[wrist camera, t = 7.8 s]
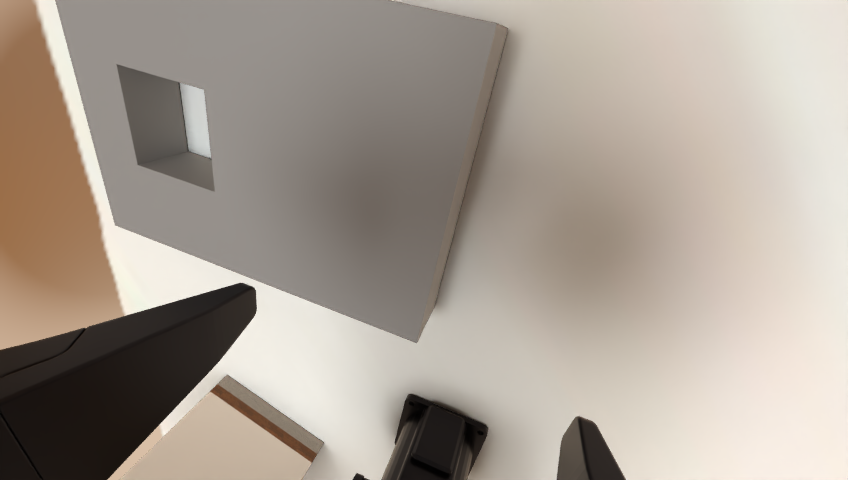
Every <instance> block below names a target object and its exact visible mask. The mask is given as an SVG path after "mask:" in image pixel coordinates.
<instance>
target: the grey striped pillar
mask: <svg viewBox="0 0 848 480" xmlns="http://www.w3.org/2000/svg"><path fill="white" fill-rule="evenodd" d="M323 444H324V442H322V441H321V440H319V439H318V438H316V437H315V436H314V435H312V434H311V433H309V432H308V431H306V430H305V429H304V428H302V427H301V426H299V425H298V424H296V423H295V422H294V421H292V420H291V419H289V418H288V417H287V416H285V415H284V414H282V413H281V412H279V411H278V410H277V409H275V408H274V407H272V406H271V405H269V404H268V403H267V402H265V401H264V400H262V399H261V398H259V397H258V396H257V395H255V394H254V393H252V392H251V391H249V390H248V389H247V388H245V387H244V386H242V385H241V384H239V383H238V382H237V381H235V380H234V379H232V378H231V377H230V376H228V375H226V376H225V377H224V378H223V379H222V380H221V381H220V382H219V383H218V384H217V385H216V386H215V387H214V388H213V389H212V390H211V391H210V392H209V393H208V394H207V395H206V396H205V397H204V398H203V399H202V400H201V401H200V402H199V403H198V404H197V405H195V406H194V407H193V408H192V409H191V410H190V411H189V412H188V413H187V414H186V415H185V416H184V417H183V418H182V419H181V420H180V421H179V422H178V423H177V424H176V425H175V426H174V427H173V428H172V429H171V430H170V431H169V432H168V433H167V434H166V435H165V436H164V437H163V438H162V439H161V440H160V441H159V442H157V443H156V444H155V445H154V446H153V448H151V449H150V450H149V451H148V452H147V453H146V454H145V455H144V456H143V457H142V458H141V459H140V460H139V461H138V462H137V463H136V464H135V465H134V466H133V467H132V468H131V469H130V470H129V471H128V472H127V473H126V474H125V475H124V476H123V477H122V478H120V480H302V479H303V477H304V475H305V474H306V472H307V470H308V469H309V467H310V465H311V464H312V462H313V460H314V459H315V457H316V455H317V454H318V452H319V450H320V449H321V447H322V445H323Z"/></svg>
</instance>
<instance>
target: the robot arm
mask: <svg viewBox="0 0 848 480" xmlns="http://www.w3.org/2000/svg"><path fill="white" fill-rule="evenodd" d="M256 310H257V304H256V290H255V288H254V287H252V286H249V285H247V284H244V283H238V284H234V285H231V286H228V287H224V288H221V289H217V290H214V291H210V292H207V293H203V294H200V295H196V296H193V297H189V298H186V299H182V300H179V301H176V302H172V303H169V304H165V305H162V306H158V307H155V308H151V309H148V310H144V311H141V312H137V313H134V314H130V315H127V316H123V317H120V318H117V319H113V320H110V321H106V322H103V323H99V324H96V325H92V326H89V327H87V328H82V329H78V330H75V331H71V332H68V333H65V334H61V335H57V336H53V337H50V338H46V339H42V340H39V341H35V342H31V343H27V344H23V345H19V346H14V347H10V348H6V349H3V350H0V480H107V479H108V478H109V477H110V476H111V475H112V474H113V473H114V472H115V471H116V470H117V468H119V467H120V466H121V464H122V463H123V462H124V461H125V460H126V459H127V458H128V457H129V456H130V455H131V454H132V453H133V452H134V451H135V450H136V449H137V448H138V446H139V445H140V444H141V443H142V442H143V441H144V440H145V439H146V438H147V437H148V436H149V435H150V434H151V433H152V432H153V431H154V429H156V428H157V427H158V426H159V424H160V423H161V422H162V421H163V420H164V419H165V418H166V417H167V416H168V415H169V414H170V413H171V412H172V411H173V410H174V409H175V408H176V407H177V405H178V404H179V403H180V402H181V401H182V400H183V399H184V398H185V397H186V396H187V395H188V394H189V393H190V392H191V391H192V390H193V389H194V388H195V386H196V385H197V384H198V383H199V382H200V381H201V380H202V379H203V378H204V377H205V376H206V375H207V374H208V373H209V372H210V371H211V370H212V369H213V367H214V366H215V365H216V364H217V363H218V362H219V361H220V360H221V358H222V357H223V356H224V355H225V354H226V352H227V351H228V350H229V348H230V347H231V346H232V345H233V343H234V342H235V341H236V339H237V338H238V337H239V336H240V334H241V333H242V332H243V330H244V329H245V328H246V327H247V325H248V324H249V323H250V321H251V320H252V319H253V317H254V316H255V314H256ZM487 433H488V428H487V426H486V425H484V424H482V423H479V422H477V421H474V420H472V419H470V418H467V417H465V416H463V415H460V414H458V413H455V412H453V411H451V410H448V409H446V408H443V407H441V406H439V405H436V404H434V403H432V402H429V401H427V400H424V399H422V398H420V397H417V396H415V395H408V396H407V398H406V400H405V404H404V408H403V412H402V415H401V419H400V423H399V427H398V431H397V435H396V439H395V445H396V446H395V448H394V450H393V453H392V455H391V458H390V460H389V463H388V465H387V467H386V470H385V472H384V475H383V477H382V479H381V480H467V478H468V475H469V473H470V471H471V469H472V467H473V465H474V462H475V460H476V458H477V456H478V454H479V452H480V450H481V447H482V445H483V443H484V441H485V439H486V437H487ZM353 480H369V479H366V478H364V476H363V475H361V474H358V473H357V474H356V475H355V477H354V478H353ZM557 480H626V479H625V477H624V475H623V473H622V472H621V470H620V468H619V466H618V464H617V462H616V460H615V459H614V457H613V455H612V453H611V451H610V449H609V447H608V446H607V444H606V442H605V440H604V438H603V436H602V434H601V433H600V431H599V429H598V427H597V425H596V424H595V423H594V422H592V421H590V420H588V419H585V418H583V417H580V416H577V417H575V418H574V420H573V421H572V423H571V424H570V426H569V428H568V429H567V431H566V432H565V434H564V435H563V438H562V441H561V447H560V456H559V464H558V473H557Z"/></svg>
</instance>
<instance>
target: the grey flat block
mask: <svg viewBox="0 0 848 480" xmlns="http://www.w3.org/2000/svg"><path fill="white" fill-rule="evenodd" d="M55 1H56V5H57V9H58V12H59V16H60V20H61V24H62V27H63V31H64V35H65V39H66V43H67V46H68V50H69V54H70V58H71V61H72V65H73V69H74V73H75V76H76V80H77V84H78V88H79V91H80V95H81V99H82V103H83V106H84V110H85V114H86V118H87V121H88V125H89V129H90V133H91V136H92V140H93V144H94V148H95V151H96V155H97V159H98V163H99V166H100V170H101V174H102V178H103V181H104V185H105V189H106V193H107V196H108V200H109V204H110V208H111V211H112V215H113V219H114V223H115V225H116V226H119V227H121V228H124V229H126V230H129V231H131V232H134V233H136V234H139V235H142V236H144V237H147V238H149V239H152V240H154V241H157V242H159V243H162V244H165V245H167V246H170V247H172V248H175V249H177V250H180V251H182V252H185V253H188V254H190V255H193V256H195V257H198V258H200V259H203V260H205V261H208V262H211V263H213V264H216V265H218V266H221V267H223V268H226V269H228V270H231V271H234V272H236V273H239V274H241V275H244V276H246V277H249V278H251V279H254V280H257V281H259V282H262V283H264V284H267V285H269V286H272V287H275V288H277V289H280V290H282V291H285V292H287V293H290V294H292V295H295V296H298V297H300V298H303V299H305V300H308V301H310V302H313V303H315V304H318V305H321V306H323V307H326V308H328V309H331V310H333V311H336V312H338V313H341V314H344V315H346V316H349V317H351V318H354V319H356V320H359V321H361V322H364V323H367V324H369V325H372V326H374V327H377V328H379V329H382V330H384V331H387V332H390V333H392V334H395V335H397V336H400V337H402V338H405V339H407V340H410V341H413V342H415V343H417V342H418V340H419V338H420V336H421V333H422V331H423V329H424V327H425V325H426V323H427V321H428V319H429V317H430V315H431V313H432V311H433V309H434V307H435V303H436V299H437V295H438V291H439V288H440V284H441V280H442V276H443V273H444V269H445V265H446V261H447V258H448V254H449V250H450V246H451V243H452V239H453V235H454V231H455V228H456V224H457V220H458V216H459V213H460V209H461V205H462V201H463V198H464V194H465V190H466V186H467V182H468V179H469V175H470V171H471V167H472V164H473V160H474V156H475V152H476V149H477V145H478V141H479V137H480V134H481V130H482V126H483V122H484V119H485V115H486V111H487V107H488V104H489V100H490V96H491V92H492V88H493V85H494V81H495V77H496V73H497V70H498V66H499V62H500V58H501V55H502V51H503V47H504V43H505V40H506V36H507V32H508V28H506V27H504V26H502V25H499V24H497V23H493V22H488V21H484V20H479V19H474V18H469V17H465V16H460V15H455V14H451V13H446V12H441V11H437V10H432V9H427V8H423V7H418V6H413V5H409V4H404V3H399V2H395V1H390V0H55ZM179 82H180V83H183V84H187V85H190V86H194V87H197V88H200V89H204V93H205V102H206V112H207V121H208V131H209V140H210V150H211V159H209V158H206V157H203V156H200V155H197V154H194V153H191V152H188V148H187V140H186V133H185V126H184V118H183V111H182V104H181V96H180V89H179Z"/></svg>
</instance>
